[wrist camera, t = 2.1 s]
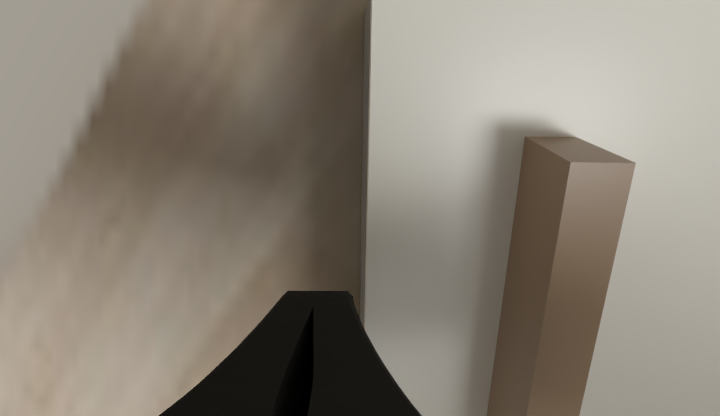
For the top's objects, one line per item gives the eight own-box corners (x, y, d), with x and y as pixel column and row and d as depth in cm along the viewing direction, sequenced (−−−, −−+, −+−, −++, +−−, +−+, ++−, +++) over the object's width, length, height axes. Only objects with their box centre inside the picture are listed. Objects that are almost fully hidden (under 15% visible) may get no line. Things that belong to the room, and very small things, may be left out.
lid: (989, 5, 9) (1253, -9, 6) (774, 494, 13) (877, 605, 11) (371, -5, 9) (378, -24, 6) (360, 495, 13) (362, 608, 11)
